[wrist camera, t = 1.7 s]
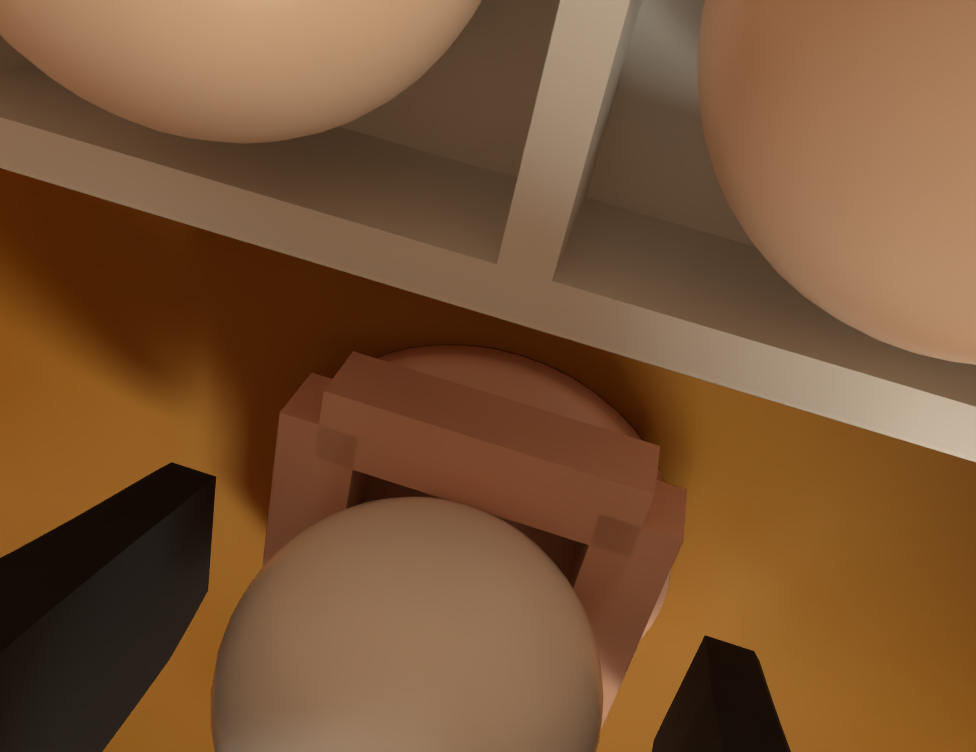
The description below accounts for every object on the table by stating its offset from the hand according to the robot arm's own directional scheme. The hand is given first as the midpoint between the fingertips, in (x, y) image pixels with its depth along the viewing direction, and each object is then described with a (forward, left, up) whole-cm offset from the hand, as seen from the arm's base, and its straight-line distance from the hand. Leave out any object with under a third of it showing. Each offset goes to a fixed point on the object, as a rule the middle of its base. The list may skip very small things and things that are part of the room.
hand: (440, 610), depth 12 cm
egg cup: (0, 0, -2) cm, 2 cm away
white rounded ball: (0, 0, -1) cm, 1 cm away
